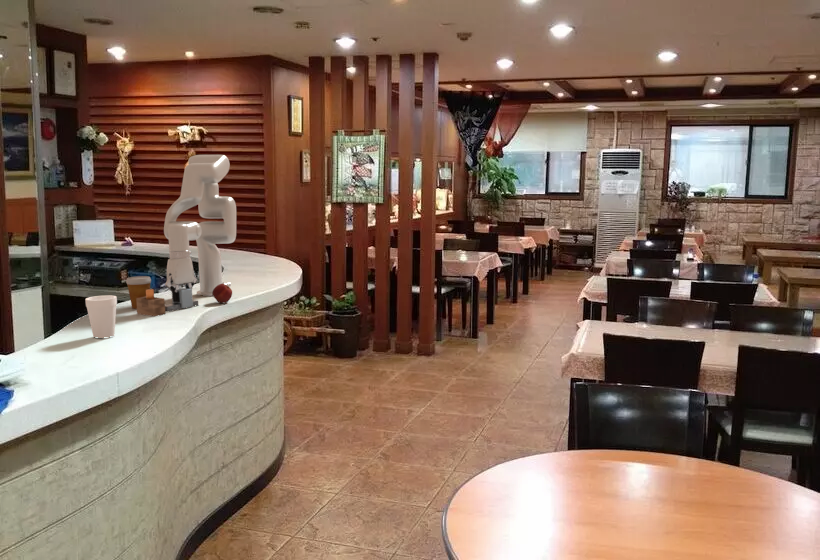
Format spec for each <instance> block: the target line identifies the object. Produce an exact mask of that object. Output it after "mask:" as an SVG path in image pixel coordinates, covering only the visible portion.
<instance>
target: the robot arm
mask: <svg viewBox="0 0 820 560" xmlns="http://www.w3.org/2000/svg"><path fill="white" fill-rule="evenodd" d="M230 166H231V165H230V160H229V158H228V157H227V156H226V155H225V154H196V155H192V156H190V157H189V158H188V161H187V165H186V166H185V168H184V172H183V176H182V177H183V178H182V183H181V190H180V196H179V197H178V199H176V200H175V201H174V202H173V203H172V204H171V206H170V207H169V208H168V209H167V211H166V214H165V219H164V224H163V226H164V227H163V234H164V236H165V238H166V239H167V240H168V248H169V249H168V250H169V253H168V254H169V258H168V259H167V265H166V282H165V284H164V286H165V287H167V288H168V289H169V290H170V292H171V293H172V292H173V302H180V297H179V292H178V288H180V285H184V288H187V289H192V290H193V287H194V285H195V283H196V282H197V281H198V279H197V277H196V276H195V273H194V266H193V261H192V258H191V254H192V251H191V250H190V241H195V242H196V246H197V255H198V257H197V258H198V273H199V274H198V276H199V290H197V291H196V295H197V296H200V295H203V296H204V297H211V296H212V297H213V295H212V292H213V289H214V288H215V287H216V286H217V285H219V284H225V285H227V286H228V287H230V288H231V282H223V270H222V254H221V251H220V249H219V248H218V247H217V245H216V244H218V245H219V244H227V245H228V244H232V243H234V242H235V241H236V238H237V205H236V204H237V203H236V201H235V200H234V198H233V197H231V196H220V194H219V193H220V192H219V191H220V190H219V187H220V186H219V184H218V183H220V182H221V181H222V180H223V179H224V177H226V175H227V174H228V173H229V171H230V168H231V167H230ZM197 205H198V214H199V216H200V217H201V218H203V219H223V221H216V220H215V221H214V220H213V221H201V222H199V223H198V222H197V221H177V219H178V217H179V216H180V215H181V214H182V213H183V212H185V211H187V210H189V209H191V208H193V207H196V206H197ZM203 296H202V297H203Z"/></svg>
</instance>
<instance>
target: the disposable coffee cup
mask: <svg viewBox="0 0 820 560" xmlns="http://www.w3.org/2000/svg"><path fill="white" fill-rule="evenodd" d="M125 283H126V284H127V289H128V294H129V299H130V304H131V308H132V309H134V310H137V302H136V298H140V297H146V290H147V289H151V283H152V279H151V277H150V276H149V275H148V276H147V275H136V276H131V277H130V276H129V277H127V278H126V281H125Z"/></svg>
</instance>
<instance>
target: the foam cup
mask: <svg viewBox="0 0 820 560" xmlns="http://www.w3.org/2000/svg"><path fill="white" fill-rule="evenodd" d="M117 298H118V297H117V296H116V295H111V294H110V295H109V294H108V295H95V296H90V297H86V298H85V307H86V309H87V314H88V318H89V323H90V327H91V332H92V335H93V338H94V337H98V338H104V337H110V336H114V337H115V331H116V330H115V329H116V317H117V316H116V314H117V305H118V299H117Z"/></svg>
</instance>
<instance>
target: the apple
mask: <svg viewBox="0 0 820 560" xmlns="http://www.w3.org/2000/svg"><path fill="white" fill-rule="evenodd" d="M212 295H213V296H212V297H213V298H214V299H215V301H216V302H217V303H220V304H226V303H228V302H229V301H230V299H231V298H232V295H233V290H232V289H231V286H230V287H228V286H227V285H225V284H219V285H217V286H216V287H215V288H214V289H213V292H212Z"/></svg>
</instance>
